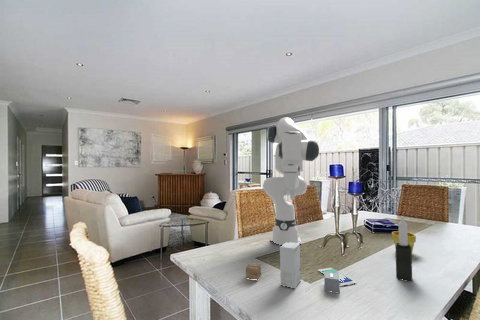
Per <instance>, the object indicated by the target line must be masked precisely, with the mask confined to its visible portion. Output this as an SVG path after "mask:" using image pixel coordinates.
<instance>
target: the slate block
mask: <svg viewBox="0 0 480 320" xmlns="http://www.w3.org/2000/svg"><path fill="white" fill-rule="evenodd" d="M323 276H324V292H326V291H332V292H339V293H340V286H339V274H337V273H329V272H324V275H323ZM332 292H331V293H332ZM339 293H338V294H339Z"/></svg>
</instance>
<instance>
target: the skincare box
mask: <svg viewBox="0 0 480 320" xmlns="http://www.w3.org/2000/svg"><path fill="white" fill-rule="evenodd" d="M300 247H301V246H300V244H299V243H292V242H286V243H285V244H283V245H282V246H279V260H280V261H279V268H280V272H279V273H280V274H279V276H280V286H281V285H284V286H283V287H285V286H287V287H286V288H288V287H292V288H295V289H296V288H297V286H298V285H299V283H300V282H301V281H302V273H301V251H300V250H301V248H300ZM300 280H301V281H300ZM297 284H298V285H297ZM292 288H291V289H292Z"/></svg>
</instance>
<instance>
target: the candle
mask: <svg viewBox="0 0 480 320" xmlns="http://www.w3.org/2000/svg"><path fill="white" fill-rule="evenodd" d="M400 217H401V219H400V222H398V231H399V243H397V244H396V247H395V276H396V277H395V278H396V279H397V278H398V279H397V280H400V279H403V280H402V281H404V280H407V281H406V282H408V281H411V282H412V279H413V264H412V263H413V261H412V259H413V255H412V254H413V251H411V246H410V245H409V244H408V236H407V232H408V223H407V222H406V221H405V216H404V215H401V216H400Z"/></svg>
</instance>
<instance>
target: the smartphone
mask: <svg viewBox="0 0 480 320" xmlns="http://www.w3.org/2000/svg"><path fill="white" fill-rule="evenodd" d="M317 271H318V272H319V271H320V272H321V273H320V272H319V273H320V274H322V273H323V274H324V272H329V273H337V274H338V273H340V274H342V275H344V276H345V277H346V278H344V279H345V280H343V281H344V282H343V281H342V280H341V279H340V280H341V281H342V282H341V281H339V285H342V286H343V285H348V284H353V283H356V284H357V281H355V280H353V279H352V278H349V277H348V276H347V275H345V274H343V273H341V272H340V271H338V270H337V269H334V268H333V267H327V268H320V269H317ZM322 271H324V272H322ZM323 274H322V275H323Z"/></svg>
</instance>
